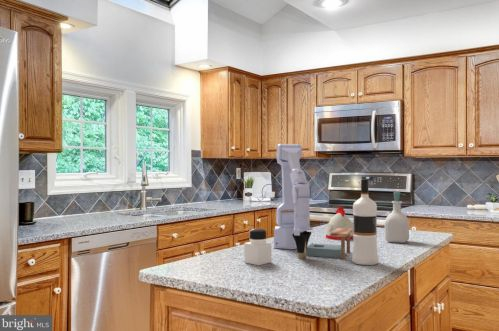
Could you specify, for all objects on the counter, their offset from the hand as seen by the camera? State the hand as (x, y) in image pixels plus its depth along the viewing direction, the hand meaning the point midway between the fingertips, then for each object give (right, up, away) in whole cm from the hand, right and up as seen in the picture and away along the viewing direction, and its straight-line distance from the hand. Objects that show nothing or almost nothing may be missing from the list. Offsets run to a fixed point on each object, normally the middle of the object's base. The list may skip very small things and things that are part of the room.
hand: (302, 251), depth 162 cm
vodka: (+21, -3, -8) cm, 23 cm away
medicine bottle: (-17, -3, -7) cm, 18 cm away
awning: (+16, -2, +5) cm, 17 cm away
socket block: (+10, -2, +7) cm, 13 cm away
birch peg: (0, -2, 0) cm, 2 cm away
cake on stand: (+24, -3, +46) cm, 52 cm away
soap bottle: (+47, -2, +34) cm, 58 cm away
